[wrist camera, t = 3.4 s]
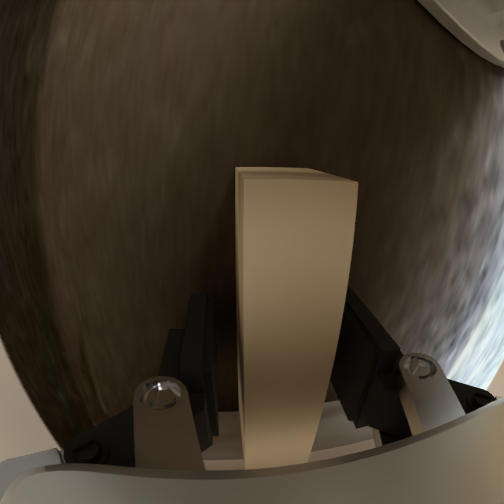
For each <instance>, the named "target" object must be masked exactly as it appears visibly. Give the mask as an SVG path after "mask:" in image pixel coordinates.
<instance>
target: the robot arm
mask: <svg viewBox="0 0 504 504" xmlns="http://www.w3.org/2000/svg"><path fill="white" fill-rule="evenodd" d="M418 1H419V3H420V4H421V5H422V6H423V7H425V8H426V9H427V10H428V11H429V12H430V13H431V14H432V15H433V16H434V17H435V18H436V19H437V21H438V22H439V23H440V24H442V25H443V26H444V27H445V28H446V29H447V30H448V31H450V32H451V33H452V34H453V35H454V36H455V37H456V38H457V39H458V40H459V41H461V42H462V43H463V44H465V45H466V46H467V47H468V48H470V49H471V50H472V51H474V52H475V53H476V54H477V55H479V56H481V57H482V58H484V59H486V60H487V61H489V62H491V63H492V64H495V65H498V66H501V67H503V68H504V0H418ZM330 380H331V383H332V385H333V387H334V389H335V392H336V394H337V396H338V399H339V401H340V403H341V405H342V408H343V410H344V412H345V415H346V417H347V419H348V420H349V421H353V423H354V425H355V427H356V429H358V428H362V427H366V426H369V427H371V428H372V434H373V438H374V443H375V448H373V449H369V450H365V451H361V452H357V453H353V454H349V455H344V456H340V457H335V458H330V459H325V460H320V461H314V462H308V463H302V464H295V465H288V466H280V467H271V468H261V469H248V470H229V471H206V469H205V466H204V462H203V458H202V454H201V453H202V452H203V451H205V450H206V449H207V448H209V447H210V446H213V436H219V414H218V360H217V345H216V329H215V313H214V297H208V294H207V293H192V295H191V300H190V306H189V312H188V318H187V323H186V329H170V331H169V334H168V338H167V342H166V347H165V351H164V355H163V360H162V364H161V369H160V373H159V376H158V377H153V378H149V379H147V380H145V381H143V382H142V383H141V384H139V385H138V386H137V388H136V389H135V391H134V396H133V406H132V407H130V408H128V409H127V410H125V411H123V412H121V413H119V414H117V415H116V416H114V417H112V418H110V419H108V420H106V421H104V422H102V423H101V424H99V425H97V426H95V427H93V428H91V429H89V430H87V431H85V432H83V433H81V434H79V435H77V436H75V437H74V438H72V439H71V440H70V441H69V442H68V443H67V445H66V447H65V449H64V450H61V451H59V450H58V449H57V448H54V449H50V450H46V451H42V452H38V453H34V454H30V455H26V456H21V457H17V458H12V459H7V460H5V461H2V462H1V463H0V504H504V397H500V396H496V397H495V398H494V396H493V395H492V394H490V393H489V392H488V391H486V390H483V389H480V388H477V387H473V386H470V385H466V384H463V383H459V382H456V381H453V380H450V379H447V378H446V376H445V374H444V372H443V371H442V369H441V367H440V365H439V364H438V363H437V361H436V360H434V359H433V358H432V357H430V356H427V355H425V354H421V353H411V354H407V355H405V356H404V355H403V354H402V353H401V351H400V348H399V346H398V345H397V344H396V343H395V341H394V340H393V339H392V338H391V336H390V335H389V334H388V333H387V331H386V330H385V329H384V328H383V327H382V325H381V324H380V323H379V322H378V320H377V319H376V318H375V317H374V316H373V314H372V313H371V312H370V311H369V309H368V308H367V307H366V306H365V305H364V303H363V302H362V301H361V300H360V299H359V297H358V296H357V295H356V294H355V293H354V292H353V290H352V289H351V288H350V287H347V292H346V299H345V305H344V311H343V317H342V322H341V328H340V333H339V339H338V344H337V349H336V354H335V359H334V363H333V368H332V372H331V377H330Z"/></svg>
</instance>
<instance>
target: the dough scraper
mask: <svg viewBox="0 0 504 504" xmlns="http://www.w3.org/2000/svg"><path fill="white" fill-rule="evenodd" d="M357 196H358V182H356V181H353V180H349V179H346V178H342V177H339V176H335V175H332V174H328V173H324V172H321V171H317V170H313V169H309V168H286V167H235V224H236V310H237V358H238V395H239V411H233V412H218V414H219V436H213V446H210V447H209V448H207V449H206V450H205V451H203V452H202V453H201V454H202V458H203V462H204V466H205V469H206V470H241V469H245V470H248V469H261V468H271V467H280V466H288V465H295V464H302V463H307V462H313V461H319V460H325V459H330V458H335V457H339V456H344V455H348V454H353V453H357V452H361V451H365V450H369V449H372V448H375V443H374V438H373V434H372V428H371V427H369V426H366V427H362V428H358V429H356V427H355V425H354V423H353V421H349V420H348V419H347V417H346V415H345V412H344V410H343V408H342V405H341V403H340V401H339V400H338V401H332V402H326V403H324V402H325V398H326V394H327V390H328V386H329V381H330V377H331V372H332V368H333V363H334V359H335V354H336V349H337V344H338V339H339V333H340V328H341V322H342V317H343V311H344V305H345V299H346V292H347V286H348V279H349V272H350V264H351V256H352V248H353V239H354V230H355V219H356V208H357Z"/></svg>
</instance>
